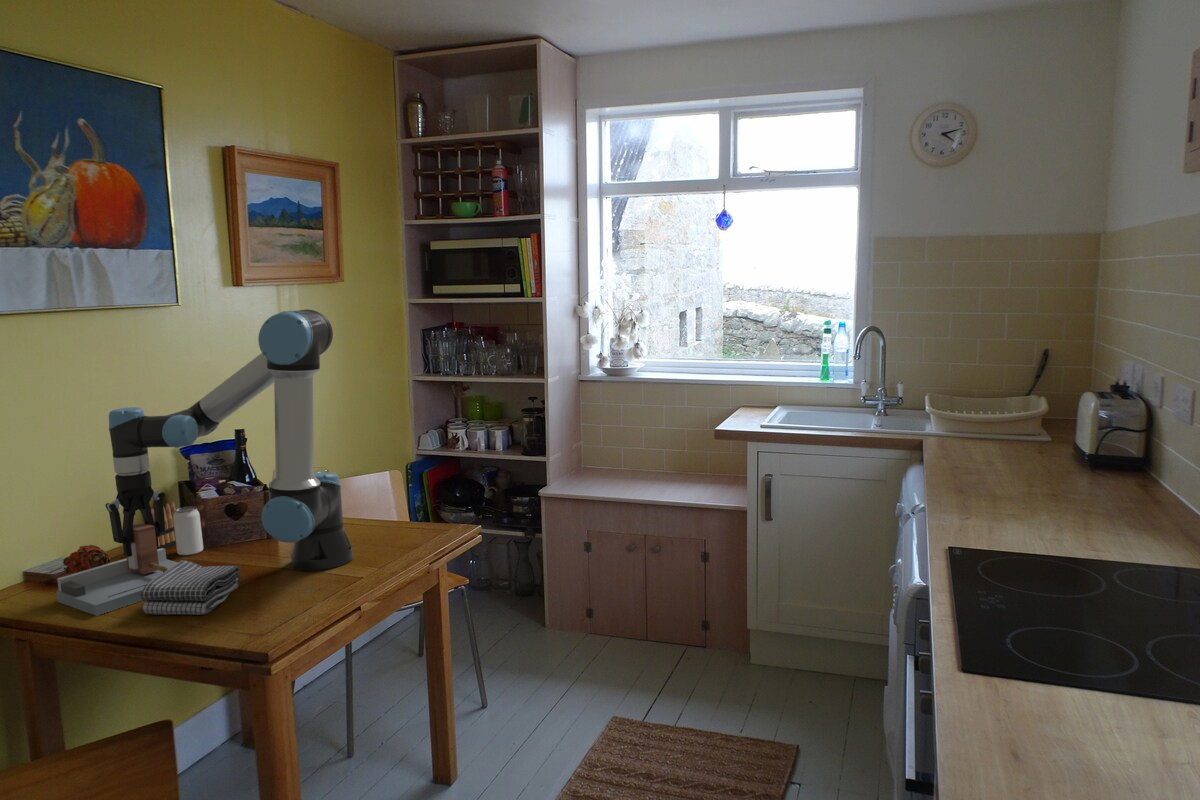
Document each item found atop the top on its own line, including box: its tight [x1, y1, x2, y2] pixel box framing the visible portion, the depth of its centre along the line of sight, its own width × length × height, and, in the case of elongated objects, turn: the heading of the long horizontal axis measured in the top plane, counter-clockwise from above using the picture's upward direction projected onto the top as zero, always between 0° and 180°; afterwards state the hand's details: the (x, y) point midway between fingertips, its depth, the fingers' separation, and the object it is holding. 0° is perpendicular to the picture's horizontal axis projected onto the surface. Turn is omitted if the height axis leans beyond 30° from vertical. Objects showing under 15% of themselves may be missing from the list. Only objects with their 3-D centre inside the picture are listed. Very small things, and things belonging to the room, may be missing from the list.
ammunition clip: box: [151, 501, 177, 550], centre depth 240 cm, size 11×2×12 cm, turn 160°
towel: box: [141, 559, 242, 616], centre depth 197 cm, size 15×18×8 cm
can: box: [173, 506, 204, 557], centre depth 235 cm, size 6×6×12 cm
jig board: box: [55, 548, 179, 617], centre depth 207 cm, size 18×26×6 cm
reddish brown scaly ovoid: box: [62, 544, 112, 574], centre depth 219 cm, size 8×8×12 cm
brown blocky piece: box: [126, 521, 168, 575], centre depth 210 cm, size 14×4×11 cm, turn 56°
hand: (143, 565), depth 212 cm, fingers closed on brown blocky piece, 4 cm apart
